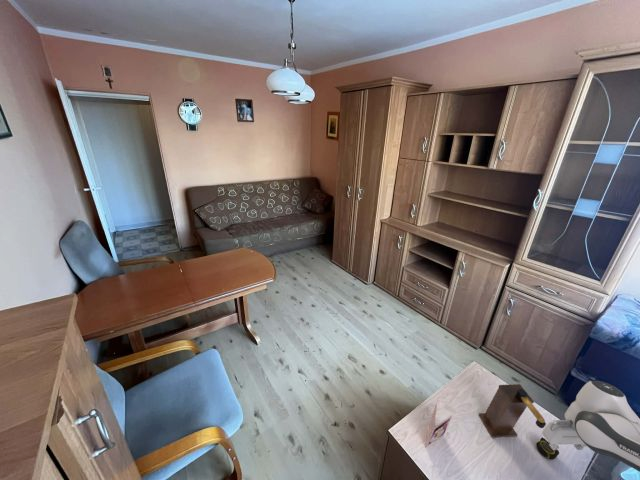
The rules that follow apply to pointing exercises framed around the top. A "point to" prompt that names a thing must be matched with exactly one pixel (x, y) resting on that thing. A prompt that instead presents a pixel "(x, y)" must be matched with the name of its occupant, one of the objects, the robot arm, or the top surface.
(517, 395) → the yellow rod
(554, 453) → the tape measure
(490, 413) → the pedestal
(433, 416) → the greeting card
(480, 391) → the top surface
